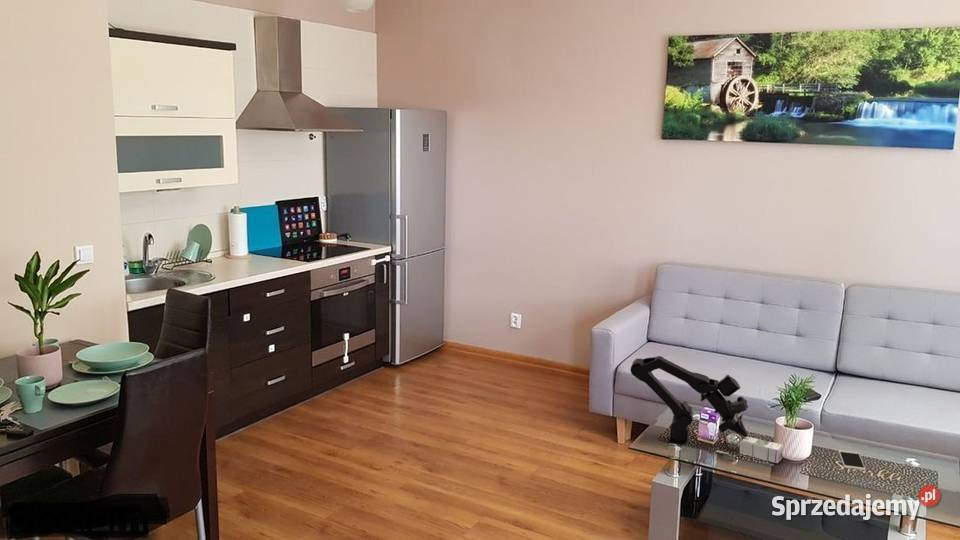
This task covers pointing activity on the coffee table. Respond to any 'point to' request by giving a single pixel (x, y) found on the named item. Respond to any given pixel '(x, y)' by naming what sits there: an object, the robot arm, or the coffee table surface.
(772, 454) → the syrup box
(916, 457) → the coffee table surface
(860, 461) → the smartphone
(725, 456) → the traps
